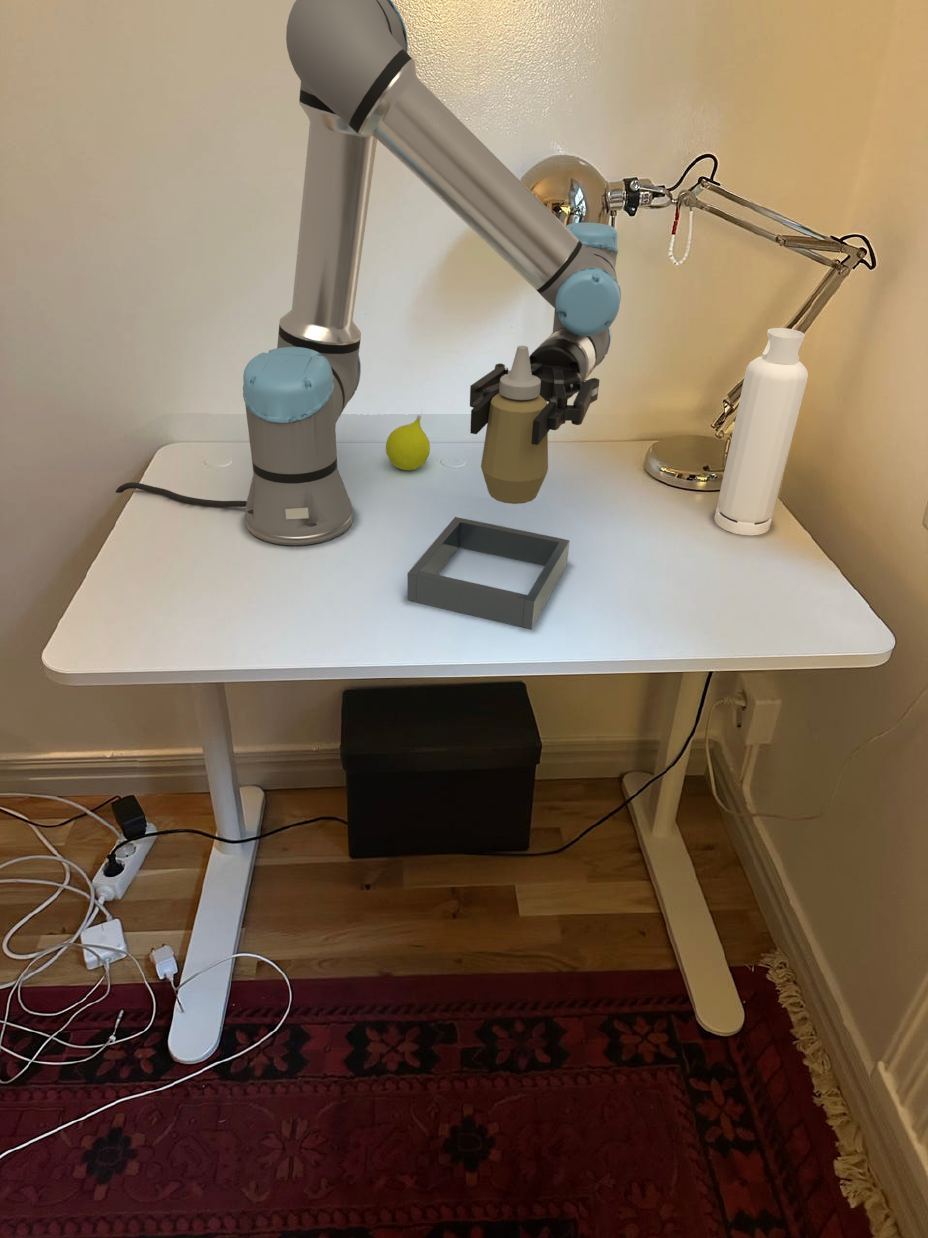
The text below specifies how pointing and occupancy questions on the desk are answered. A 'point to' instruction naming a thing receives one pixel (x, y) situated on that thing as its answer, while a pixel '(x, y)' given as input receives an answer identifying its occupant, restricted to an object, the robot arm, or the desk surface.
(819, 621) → the desk surface
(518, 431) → the squeeze bottle
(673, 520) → the desk surface
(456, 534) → the grey open square frame
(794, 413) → the bottle
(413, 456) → the yellow teardrop-shaped fruit
